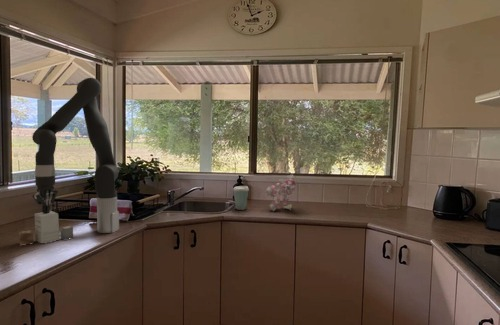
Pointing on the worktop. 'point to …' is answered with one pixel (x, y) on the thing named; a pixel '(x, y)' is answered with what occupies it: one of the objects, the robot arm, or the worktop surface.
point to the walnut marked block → (26, 237)
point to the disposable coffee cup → (240, 196)
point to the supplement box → (46, 227)
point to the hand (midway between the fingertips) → (46, 213)
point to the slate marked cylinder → (66, 232)
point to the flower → (285, 187)
